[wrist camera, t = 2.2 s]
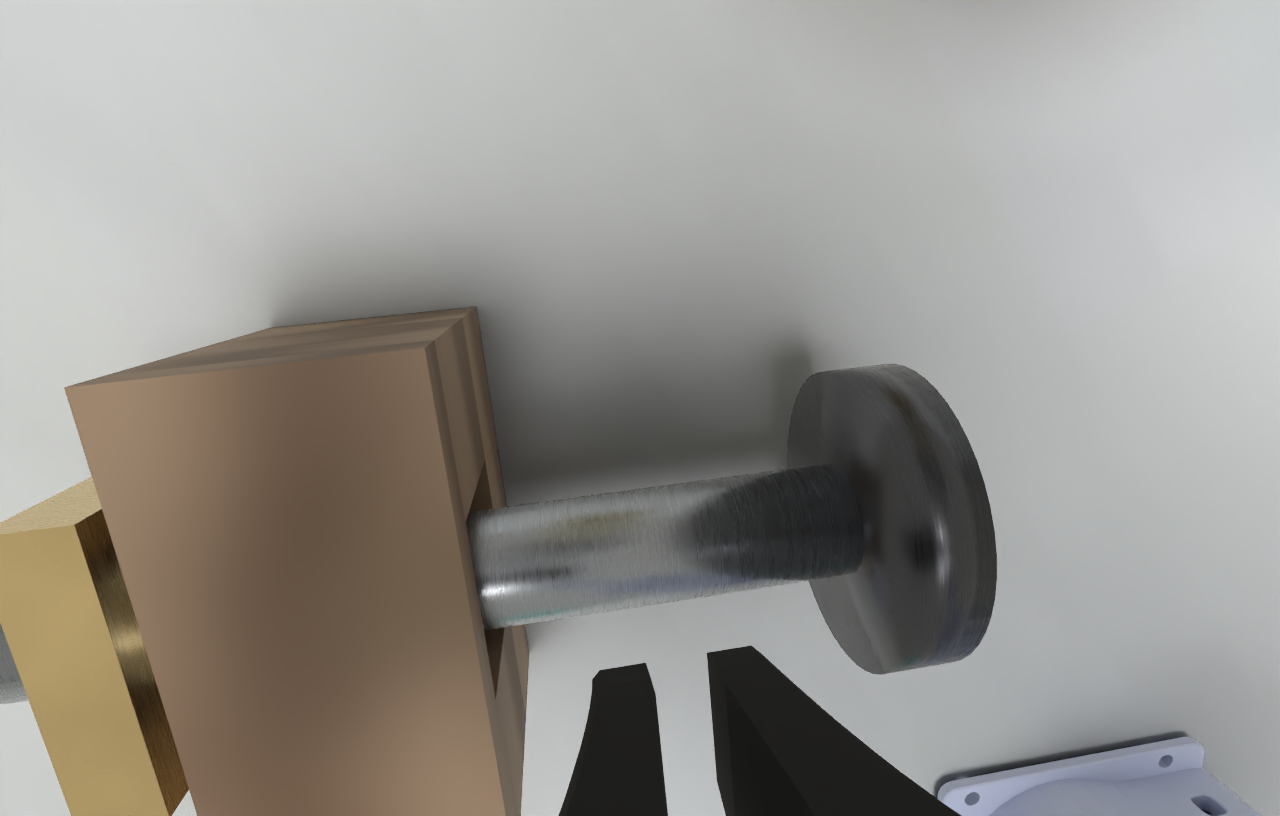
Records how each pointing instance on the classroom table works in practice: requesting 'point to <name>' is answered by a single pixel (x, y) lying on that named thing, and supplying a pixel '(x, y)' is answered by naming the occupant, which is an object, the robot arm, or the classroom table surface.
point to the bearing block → (317, 565)
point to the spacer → (86, 660)
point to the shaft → (771, 533)
